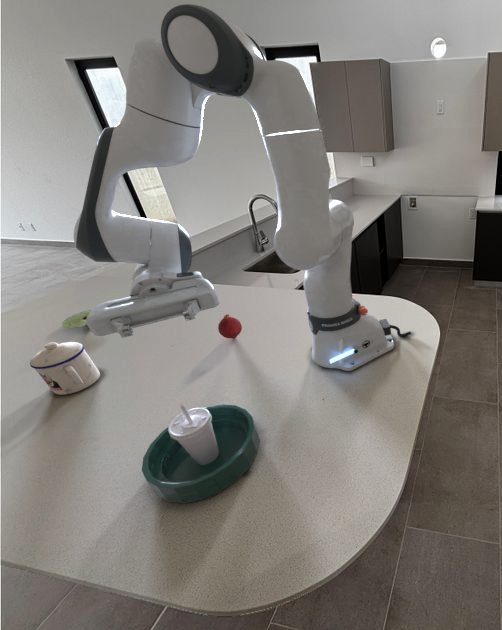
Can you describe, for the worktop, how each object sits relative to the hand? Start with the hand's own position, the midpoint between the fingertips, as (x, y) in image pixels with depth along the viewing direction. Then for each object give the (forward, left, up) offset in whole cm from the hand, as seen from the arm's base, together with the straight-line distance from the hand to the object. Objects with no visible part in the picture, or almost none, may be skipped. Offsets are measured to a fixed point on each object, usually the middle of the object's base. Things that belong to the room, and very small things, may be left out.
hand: (158, 324), depth 59 cm
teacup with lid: (+25, -27, -24) cm, 44 cm away
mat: (+29, -62, -24) cm, 73 cm away
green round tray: (-1, +12, -24) cm, 27 cm away
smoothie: (0, +12, -23) cm, 26 cm away
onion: (-9, -29, -24) cm, 39 cm away
